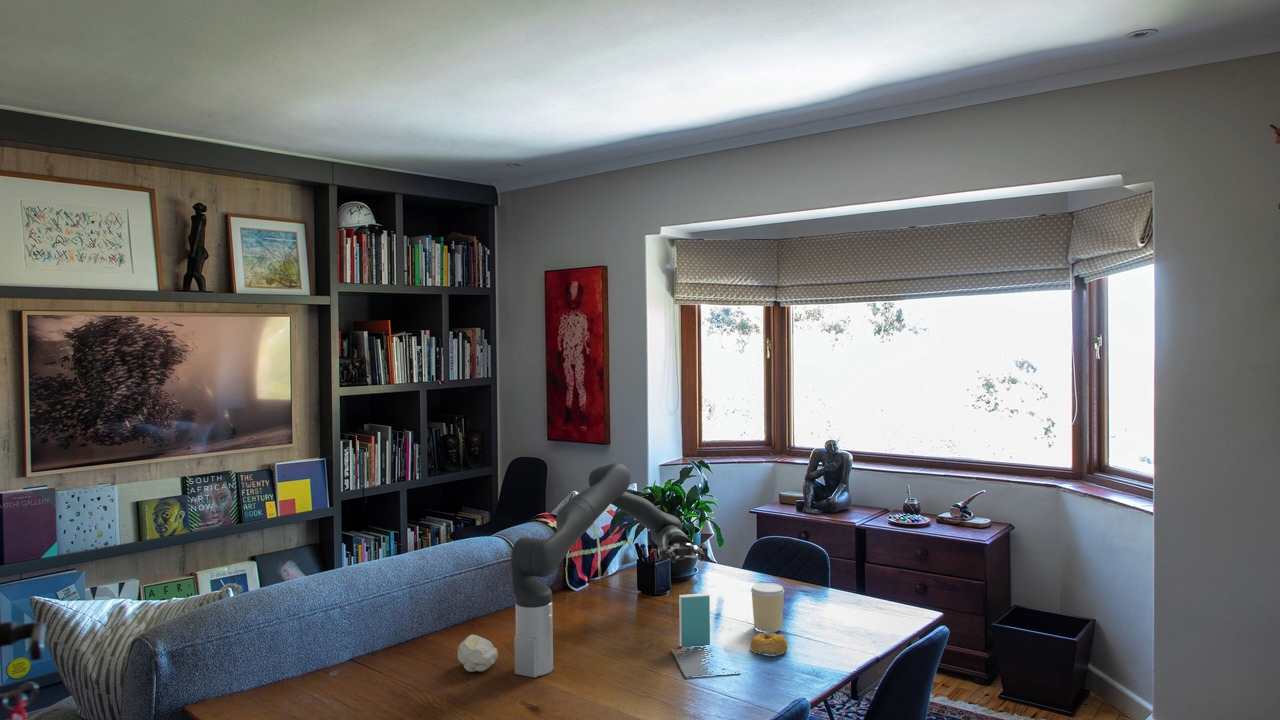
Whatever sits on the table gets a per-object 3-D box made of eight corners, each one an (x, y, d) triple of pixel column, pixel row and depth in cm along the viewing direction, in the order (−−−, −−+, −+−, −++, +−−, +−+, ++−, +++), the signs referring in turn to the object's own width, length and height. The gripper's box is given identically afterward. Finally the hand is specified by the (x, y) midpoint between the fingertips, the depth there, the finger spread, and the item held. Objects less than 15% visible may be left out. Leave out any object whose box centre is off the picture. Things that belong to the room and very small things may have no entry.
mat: (671, 651, 215) (670, 649, 215) (721, 647, 217) (721, 645, 217) (685, 678, 197) (685, 676, 197) (740, 674, 199) (740, 672, 199)
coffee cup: (783, 623, 235) (782, 582, 235) (785, 635, 226) (785, 592, 225) (750, 622, 236) (750, 582, 236) (752, 634, 227) (751, 591, 226)
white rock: (494, 657, 213) (456, 666, 209) (491, 626, 213) (452, 634, 210) (503, 671, 201) (462, 680, 198) (499, 637, 202) (459, 646, 198)
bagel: (789, 644, 219) (789, 627, 219) (786, 660, 208) (785, 642, 208) (753, 641, 222) (752, 624, 222) (747, 657, 211) (747, 639, 211)
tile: (679, 646, 218) (679, 595, 218) (708, 644, 220) (708, 593, 219) (681, 649, 216) (680, 597, 216) (710, 647, 218) (709, 595, 217)
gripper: (652, 532, 239) (663, 546, 223) (699, 529, 242) (713, 543, 225) (653, 557, 240) (663, 573, 223) (700, 554, 242) (713, 570, 226)
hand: (688, 558), depth 224 cm, fingers open, 7 cm apart
